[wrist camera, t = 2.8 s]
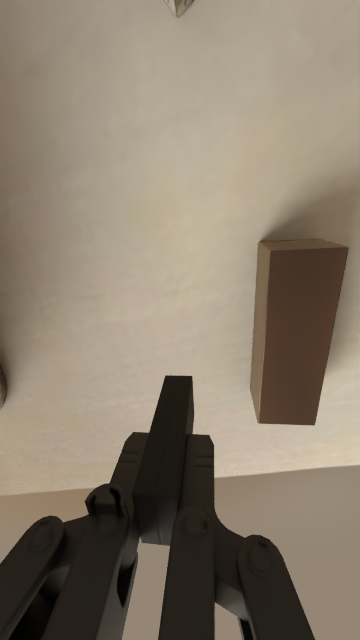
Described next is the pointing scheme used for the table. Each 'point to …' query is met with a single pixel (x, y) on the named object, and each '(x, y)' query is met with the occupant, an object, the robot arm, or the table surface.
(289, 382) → the walnut bar
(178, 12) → the coffee box
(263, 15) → the table surface
